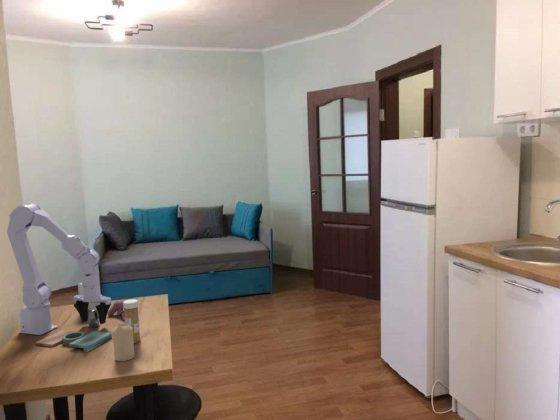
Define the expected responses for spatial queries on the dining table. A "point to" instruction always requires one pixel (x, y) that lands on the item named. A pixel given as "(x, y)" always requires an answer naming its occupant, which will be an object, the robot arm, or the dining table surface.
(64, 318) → the dining table surface
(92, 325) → the pin
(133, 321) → the sprinkles bottle
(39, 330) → the robot arm
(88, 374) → the dining table surface
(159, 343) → the dining table surface
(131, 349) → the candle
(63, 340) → the hinge
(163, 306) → the dining table surface
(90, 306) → the skincare box
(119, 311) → the video game controller
